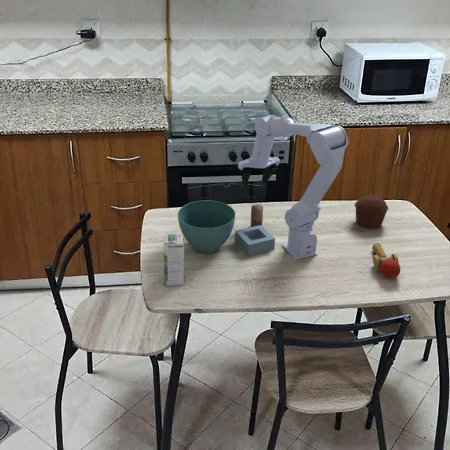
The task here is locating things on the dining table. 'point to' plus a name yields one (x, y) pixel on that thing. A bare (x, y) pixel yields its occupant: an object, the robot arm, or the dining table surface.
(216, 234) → the teal bowl
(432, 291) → the dining table surface
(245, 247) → the socket
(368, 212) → the muffin
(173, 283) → the syrup box
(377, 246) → the kendama
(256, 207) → the peg
